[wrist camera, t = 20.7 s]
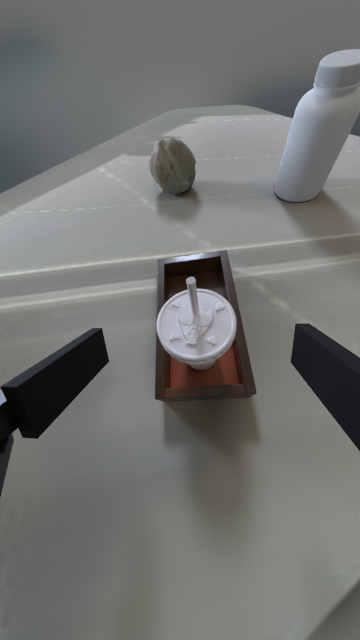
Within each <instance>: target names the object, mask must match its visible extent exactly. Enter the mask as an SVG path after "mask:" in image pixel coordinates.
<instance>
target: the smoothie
mask: <svg viewBox="0 0 360 640" xmlns="http://www.w3.org/2000/svg"><path fill="white" fill-rule="evenodd" d="M186 283H187V288H188V290H186V291H182V292H180V293H178V294H176V295H174V296H173V297H172V298H170V299H169V300H168V301H167V302H166V303H165V304H164V306H163V307H162V309H161V310H160V313H159V315H158V318H157V333H158V337H159V339H160V342H161V344H162V345H163V347H164V349H165V350H166V351H167V352H168V353H169V354H170V355H171V356H172V357H173V358H175V359H177V360H178V361H180V362H184V363H187V364H188V365H190V366H191V367H192V368H194V369H196V370H199V371H204V370H207V369H209V368H211V367H212V366H213V365H214V363H215V362H216V360H217V359H218V358H219V357H221V356H222V355H223V354H224V353H225V352H226V351H227V350H228V349H229V348H230V346H231V345H232V343H233V341H234V339H235V334H236V316H235V312H234V310H233V308H232V306H231V305H230V303H229V302H228V301H227V300H226V299H225V298H224V297H222V296H221V295H219V294H218V293H215V292H213V291H210V290H206V289H196V280H195V278H194V277H189V278H187V280H186Z"/></svg>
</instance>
